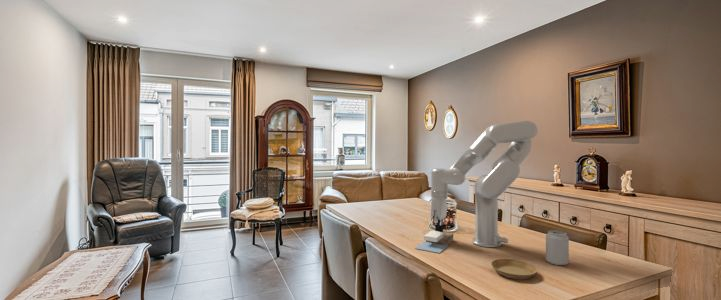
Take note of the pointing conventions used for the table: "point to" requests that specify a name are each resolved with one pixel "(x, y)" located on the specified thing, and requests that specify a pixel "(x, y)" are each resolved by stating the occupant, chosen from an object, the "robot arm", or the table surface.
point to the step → (444, 239)
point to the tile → (434, 236)
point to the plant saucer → (513, 268)
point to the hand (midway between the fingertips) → (439, 233)
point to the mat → (431, 247)
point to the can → (557, 247)
